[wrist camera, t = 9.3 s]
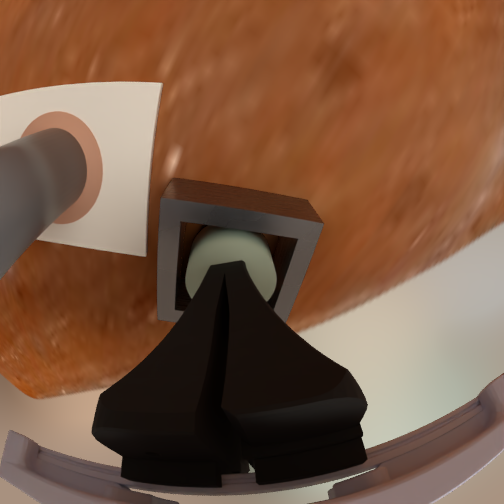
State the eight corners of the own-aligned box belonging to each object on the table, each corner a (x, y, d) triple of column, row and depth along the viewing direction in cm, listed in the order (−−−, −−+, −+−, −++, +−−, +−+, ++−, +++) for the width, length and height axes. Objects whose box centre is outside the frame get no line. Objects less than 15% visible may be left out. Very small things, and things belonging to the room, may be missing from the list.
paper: (3, 230, 11) (0, 233, 11) (-5, 97, 7) (-9, 98, 7) (147, 253, 13) (145, 257, 13) (163, 83, 9) (161, 82, 9)
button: (187, 281, 13) (182, 310, 11) (194, 213, 11) (189, 237, 10) (260, 290, 14) (264, 319, 12) (278, 226, 12) (287, 251, 10)
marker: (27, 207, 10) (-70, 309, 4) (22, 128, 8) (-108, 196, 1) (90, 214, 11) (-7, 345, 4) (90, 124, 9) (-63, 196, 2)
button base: (165, 287, 14) (157, 319, 12) (173, 178, 11) (160, 197, 9) (274, 300, 15) (281, 332, 13) (307, 200, 12) (323, 223, 10)
